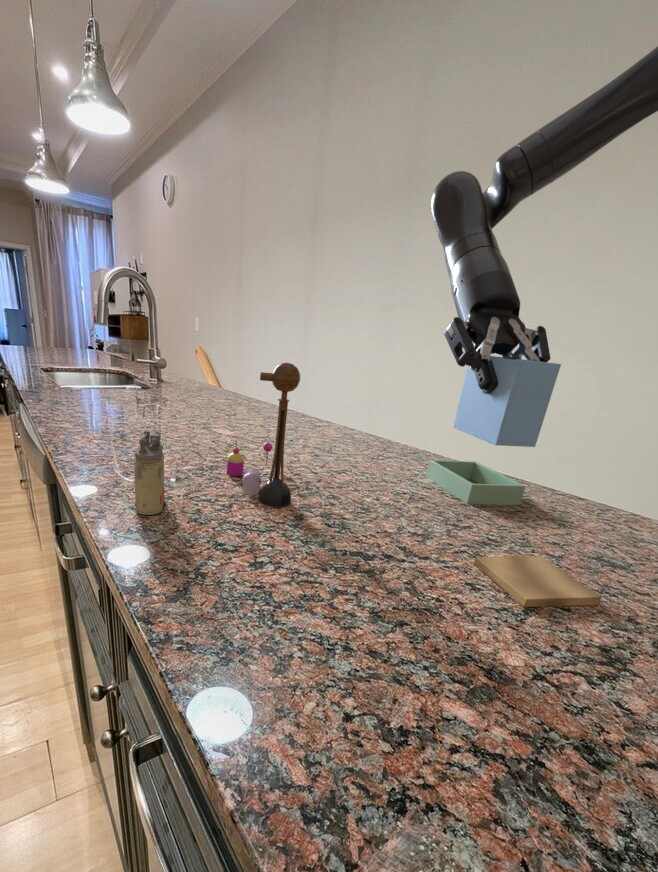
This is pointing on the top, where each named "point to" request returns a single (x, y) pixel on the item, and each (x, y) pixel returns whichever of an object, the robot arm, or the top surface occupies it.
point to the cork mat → (536, 581)
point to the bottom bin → (490, 482)
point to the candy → (250, 475)
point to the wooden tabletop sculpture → (279, 435)
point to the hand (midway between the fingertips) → (513, 391)
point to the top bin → (508, 402)
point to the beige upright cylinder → (149, 475)
